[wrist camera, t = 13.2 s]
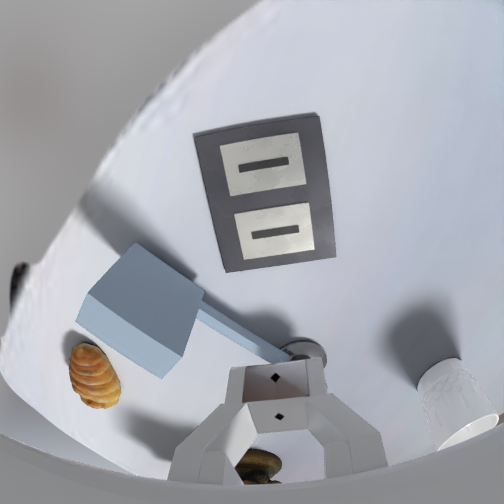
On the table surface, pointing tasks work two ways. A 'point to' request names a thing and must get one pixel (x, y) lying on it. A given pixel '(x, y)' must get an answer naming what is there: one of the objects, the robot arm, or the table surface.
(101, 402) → the pastry
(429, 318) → the table surface
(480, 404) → the white cup
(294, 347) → the pivot post
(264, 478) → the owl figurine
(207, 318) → the swing arm
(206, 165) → the label panel
